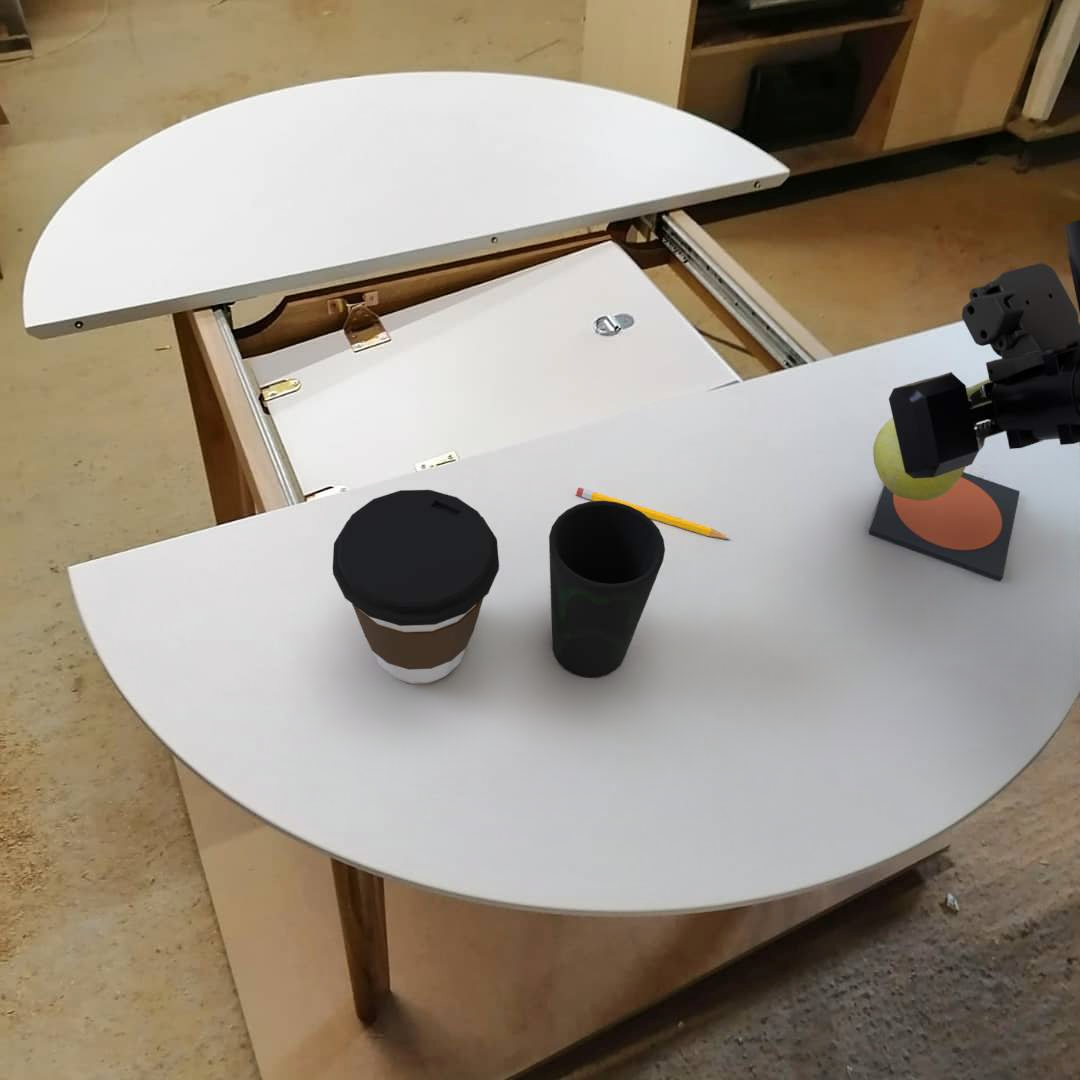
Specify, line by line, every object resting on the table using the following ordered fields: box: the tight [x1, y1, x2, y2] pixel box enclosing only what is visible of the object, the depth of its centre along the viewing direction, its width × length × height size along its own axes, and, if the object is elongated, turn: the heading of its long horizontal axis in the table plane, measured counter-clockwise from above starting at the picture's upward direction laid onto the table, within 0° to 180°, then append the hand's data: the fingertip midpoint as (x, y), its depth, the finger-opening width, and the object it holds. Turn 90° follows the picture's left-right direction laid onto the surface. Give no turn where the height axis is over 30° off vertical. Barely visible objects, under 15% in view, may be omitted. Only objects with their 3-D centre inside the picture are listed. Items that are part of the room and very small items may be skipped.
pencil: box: [575, 487, 731, 540], centre depth 84 cm, size 1×13×1 cm, turn 70°
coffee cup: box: [332, 489, 500, 685], centre depth 70 cm, size 11×11×12 cm
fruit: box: [872, 378, 991, 501], centre depth 76 cm, size 7×8×12 cm
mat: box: [867, 471, 1021, 582], centre depth 87 cm, size 11×11×1 cm
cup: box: [548, 500, 666, 679], centre depth 71 cm, size 8×8×12 cm
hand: (928, 412), depth 77 cm, fingers closed on fruit, 5 cm apart
